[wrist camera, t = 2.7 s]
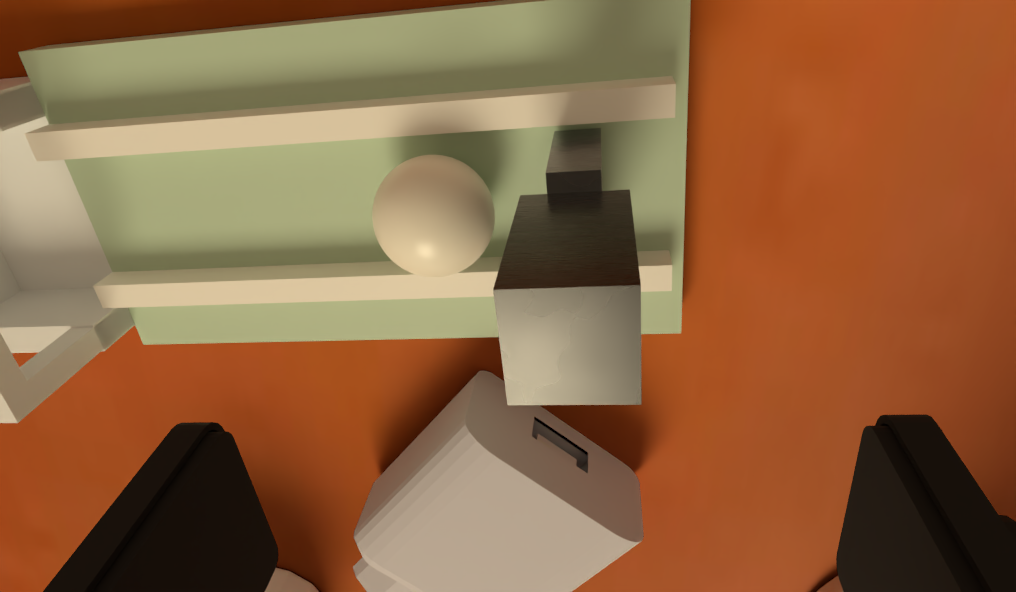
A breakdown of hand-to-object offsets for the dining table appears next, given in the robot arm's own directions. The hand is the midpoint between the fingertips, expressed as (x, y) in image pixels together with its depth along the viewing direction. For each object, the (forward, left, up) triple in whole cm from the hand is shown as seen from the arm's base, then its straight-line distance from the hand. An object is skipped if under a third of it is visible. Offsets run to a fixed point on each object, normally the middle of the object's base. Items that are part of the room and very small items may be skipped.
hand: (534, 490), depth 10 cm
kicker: (0, +1, -14) cm, 14 cm away
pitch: (+7, +1, -16) cm, 18 cm away
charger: (+6, +17, -17) cm, 25 cm away
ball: (+4, +1, -13) cm, 13 cm away
